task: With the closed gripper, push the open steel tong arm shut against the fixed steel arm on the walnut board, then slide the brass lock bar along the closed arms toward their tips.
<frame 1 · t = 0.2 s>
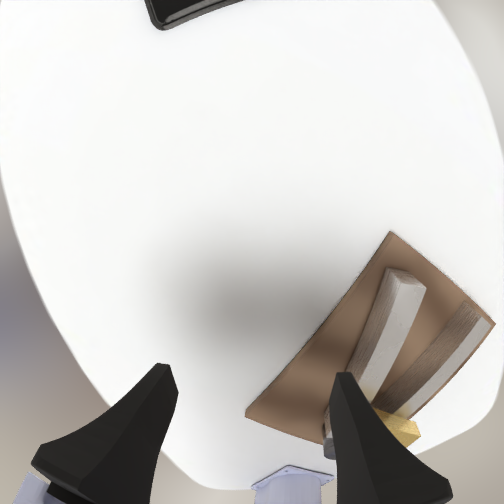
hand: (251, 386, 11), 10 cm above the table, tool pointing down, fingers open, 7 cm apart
tong arm: (368, 366, 19), point 3 cm above the table, hinge at 20.0°
walnut board: (378, 374, 22), on the table
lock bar: (383, 433, 17), point 5 cm above the table, slide at 0.0 cm
fixed tong arm: (334, 419, 24), resting on walnut board
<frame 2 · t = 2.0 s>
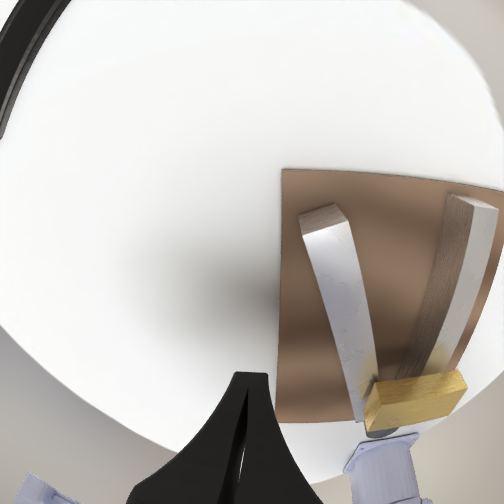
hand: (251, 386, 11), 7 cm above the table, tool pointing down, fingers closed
tong arm: (352, 337, 15), point 3 cm above the table, hinge at 20.0°
phone: (18, 51, 12), on the table
walnut board: (389, 327, 18), on the table
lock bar: (416, 401, 14), point 6 cm above the table, slide at 0.0 cm
fixed tong arm: (373, 388, 21), resting on walnut board
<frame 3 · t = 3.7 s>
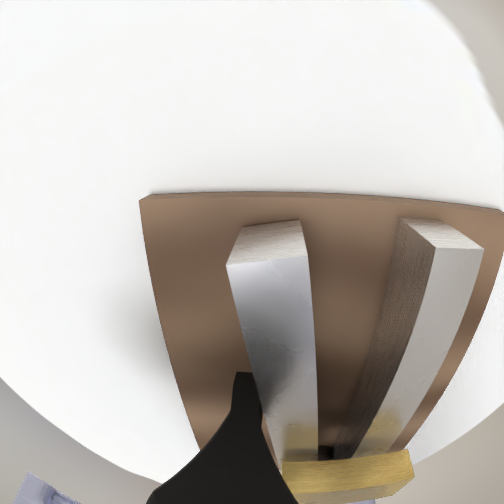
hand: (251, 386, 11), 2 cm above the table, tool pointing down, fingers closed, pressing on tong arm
tong arm: (293, 401, 11), point 3 cm above the table, hinge at 8.9°, touching gripper
walnut board: (324, 386, 14), on the table
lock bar: (343, 483, 10), point 6 cm above the table, slide at 0.0 cm
fixed tong arm: (315, 442, 17), resting on walnut board
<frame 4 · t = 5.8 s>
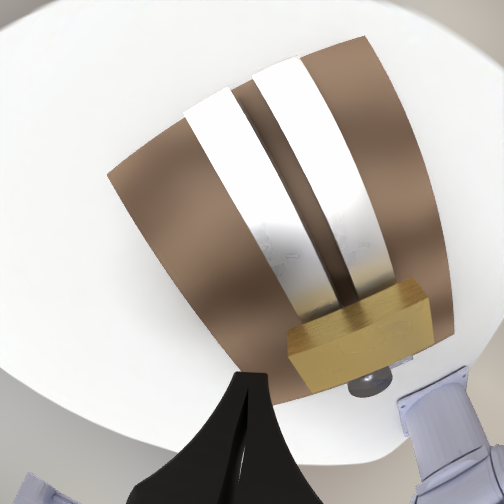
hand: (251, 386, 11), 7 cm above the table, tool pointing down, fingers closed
tong arm: (292, 247, 13), point 3 cm above the table, hinge at 0.0°
walnut board: (315, 261, 16), on the table
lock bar: (363, 339, 12), point 6 cm above the table, slide at 0.0 cm
fixed tong arm: (356, 337, 19), resting on walnut board
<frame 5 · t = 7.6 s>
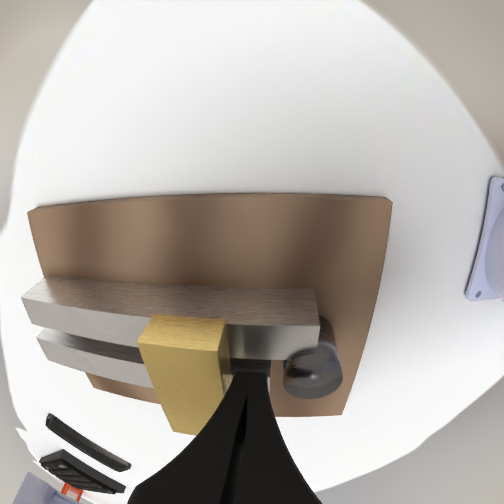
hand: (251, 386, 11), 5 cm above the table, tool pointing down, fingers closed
file binder: (73, 486, 66), on the table
computer keyboard: (74, 468, 46), on the table
tong arm: (140, 355, 15), point 3 cm above the table, hinge at 0.0°
phone: (87, 442, 31), on the table
walnut board: (190, 325, 17), on the table
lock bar: (194, 385, 11), point 5 cm above the table, slide at 0.2 cm, touching gripper
fixed tong arm: (307, 323, 16), resting on walnut board
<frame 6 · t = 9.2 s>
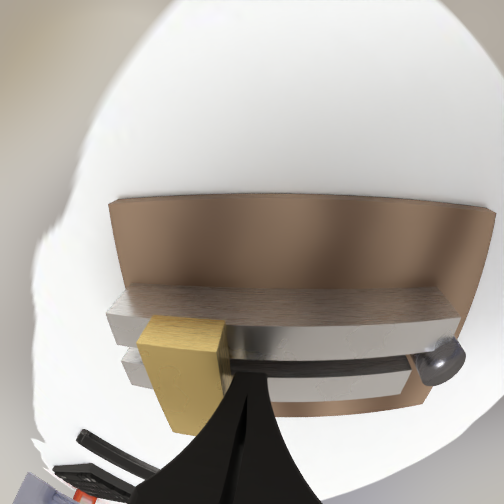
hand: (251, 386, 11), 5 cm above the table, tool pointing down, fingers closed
file binder: (86, 493, 65), on the table
computer keyboard: (94, 478, 45), on the table
tong arm: (265, 368, 14), point 3 cm above the table, hinge at 0.0°
phone: (124, 456, 30), on the table
walnut board: (310, 330, 16), on the table
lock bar: (194, 386, 11), point 5 cm above the table, slide at 7.5 cm, touching gripper
fixed tong arm: (417, 319, 15), resting on walnut board
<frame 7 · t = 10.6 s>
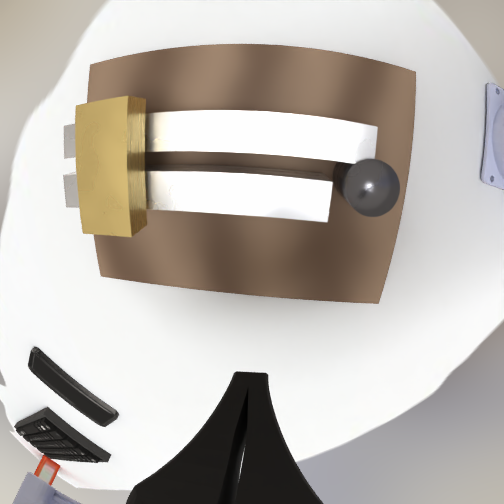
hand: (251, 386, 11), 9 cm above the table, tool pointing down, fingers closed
file binder: (51, 461, 64), on the table
computer keyboard: (52, 434, 45), on the table
tong arm: (184, 185, 15), point 3 cm above the table, hinge at 0.0°
phone: (72, 386, 31), on the table
walnut board: (237, 171, 17), on the table
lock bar: (110, 166, 12), point 6 cm above the table, slide at 7.5 cm
fixed tong arm: (351, 174, 16), resting on walnut board
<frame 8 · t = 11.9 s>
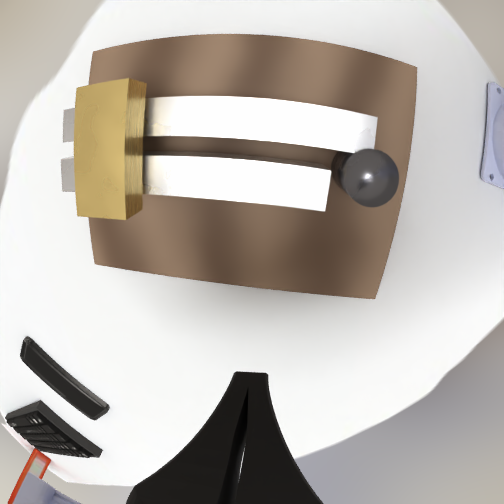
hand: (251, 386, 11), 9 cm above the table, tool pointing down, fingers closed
file binder: (41, 455, 63), on the table
computer keyboard: (43, 427, 44), on the table
tong arm: (182, 171, 14), point 3 cm above the table, hinge at 0.0°
phone: (63, 378, 30), on the table
walnut board: (235, 160, 17), on the table
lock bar: (107, 148, 11), point 5 cm above the table, slide at 7.5 cm
fixed tong arm: (350, 167, 16), resting on walnut board
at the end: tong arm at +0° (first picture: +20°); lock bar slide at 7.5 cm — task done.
